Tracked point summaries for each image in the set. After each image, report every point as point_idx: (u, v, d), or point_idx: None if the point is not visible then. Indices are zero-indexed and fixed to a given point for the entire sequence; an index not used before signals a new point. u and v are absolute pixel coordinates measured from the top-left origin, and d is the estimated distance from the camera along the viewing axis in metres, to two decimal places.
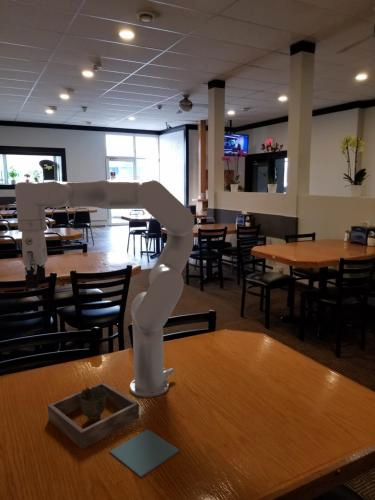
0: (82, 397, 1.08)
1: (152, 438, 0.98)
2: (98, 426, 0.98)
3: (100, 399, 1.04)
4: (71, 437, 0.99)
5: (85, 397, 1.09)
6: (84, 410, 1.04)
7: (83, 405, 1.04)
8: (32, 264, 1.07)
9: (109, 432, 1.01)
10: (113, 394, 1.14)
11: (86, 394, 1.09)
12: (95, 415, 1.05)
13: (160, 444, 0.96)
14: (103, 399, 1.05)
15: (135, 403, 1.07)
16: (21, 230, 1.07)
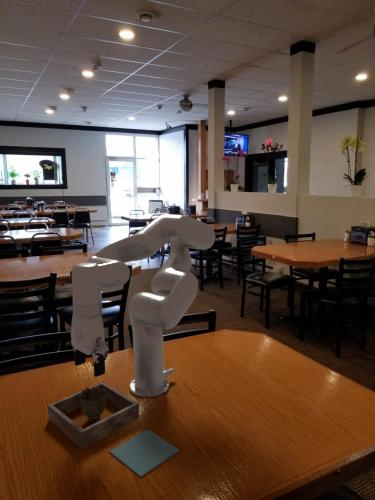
0: (82, 397, 1.08)
1: (152, 438, 0.98)
2: (98, 426, 0.98)
3: (100, 399, 1.04)
4: (71, 437, 0.99)
5: (85, 397, 1.09)
6: (84, 410, 1.04)
7: (83, 405, 1.04)
8: None
9: (109, 432, 1.01)
10: (113, 394, 1.14)
11: (86, 394, 1.09)
12: (95, 415, 1.05)
13: (160, 444, 0.96)
14: (103, 399, 1.05)
15: (135, 403, 1.07)
16: None
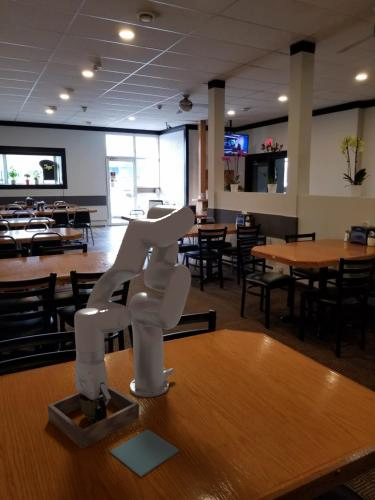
0: (82, 397, 1.08)
1: (152, 438, 0.98)
2: (98, 426, 0.98)
3: (100, 399, 1.04)
4: (71, 437, 0.99)
5: (85, 397, 1.09)
6: (84, 410, 1.04)
7: (83, 405, 1.04)
8: None
9: (109, 432, 1.01)
10: (113, 394, 1.14)
11: None
12: (95, 415, 1.05)
13: (160, 444, 0.96)
14: None
15: (135, 403, 1.07)
16: None
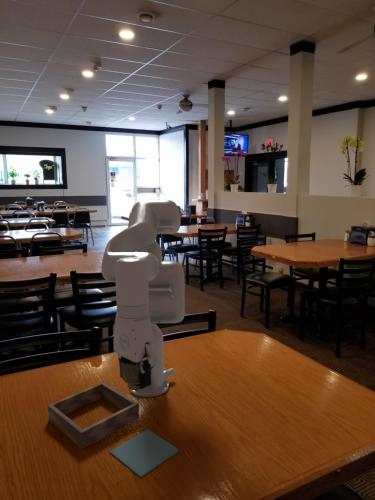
0: (121, 362, 0.93)
1: (152, 438, 0.98)
2: (98, 426, 0.98)
3: (144, 363, 0.89)
4: (71, 437, 0.99)
5: (124, 362, 0.94)
6: (125, 375, 0.89)
7: (124, 369, 0.89)
8: None
9: (109, 432, 1.01)
10: (113, 394, 1.14)
11: (126, 359, 0.94)
12: (137, 382, 0.90)
13: (160, 444, 0.96)
14: None
15: (135, 403, 1.07)
16: None
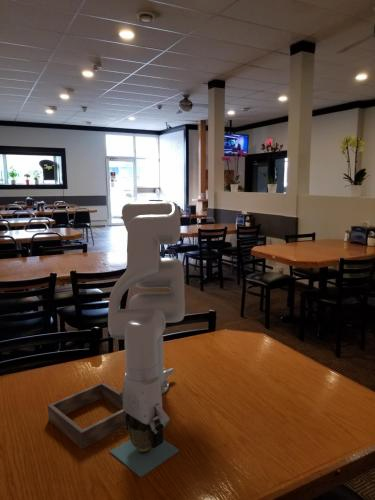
0: (130, 425, 0.94)
1: None
2: (98, 426, 0.98)
3: None
4: (71, 437, 0.99)
5: (133, 424, 0.95)
6: (134, 441, 0.91)
7: (133, 435, 0.90)
8: None
9: (109, 432, 1.01)
10: (113, 394, 1.14)
11: (134, 421, 0.95)
12: (147, 446, 0.91)
13: (160, 444, 0.96)
14: None
15: None
16: None
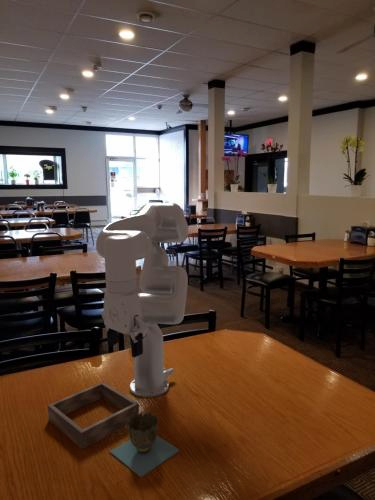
0: (130, 425, 0.94)
1: None
2: (98, 426, 0.98)
3: (153, 428, 0.90)
4: (71, 437, 0.99)
5: (133, 424, 0.95)
6: (134, 441, 0.91)
7: (133, 435, 0.90)
8: None
9: (109, 432, 1.01)
10: (113, 394, 1.14)
11: (134, 421, 0.95)
12: (147, 446, 0.91)
13: (160, 444, 0.96)
14: (155, 428, 0.91)
15: (135, 403, 1.07)
16: None
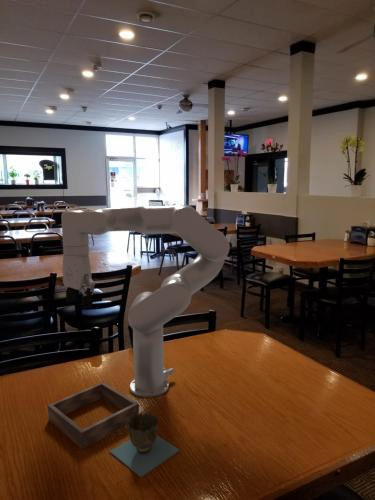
0: (130, 425, 0.94)
1: None
2: (98, 426, 0.98)
3: (153, 428, 0.90)
4: (71, 437, 0.99)
5: (133, 424, 0.95)
6: (134, 441, 0.91)
7: (133, 435, 0.90)
8: None
9: (109, 432, 1.01)
10: (113, 394, 1.14)
11: (134, 421, 0.95)
12: (147, 446, 0.91)
13: (160, 444, 0.96)
14: (155, 428, 0.91)
15: (135, 403, 1.07)
16: None
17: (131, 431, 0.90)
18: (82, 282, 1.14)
